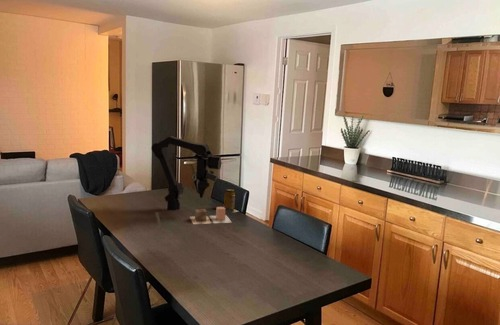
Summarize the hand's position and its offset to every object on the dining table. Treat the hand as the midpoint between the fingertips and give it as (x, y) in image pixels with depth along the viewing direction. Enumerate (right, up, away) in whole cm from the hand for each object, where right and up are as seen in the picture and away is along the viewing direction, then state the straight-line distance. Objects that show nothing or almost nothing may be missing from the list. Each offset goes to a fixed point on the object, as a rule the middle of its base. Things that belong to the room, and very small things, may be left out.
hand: (199, 195), depth 214 cm
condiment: (+15, -10, +13) cm, 22 cm away
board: (+7, -13, -9) cm, 17 cm away
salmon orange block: (+12, -12, -7) cm, 18 cm away
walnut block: (+2, -12, -11) cm, 16 cm away
